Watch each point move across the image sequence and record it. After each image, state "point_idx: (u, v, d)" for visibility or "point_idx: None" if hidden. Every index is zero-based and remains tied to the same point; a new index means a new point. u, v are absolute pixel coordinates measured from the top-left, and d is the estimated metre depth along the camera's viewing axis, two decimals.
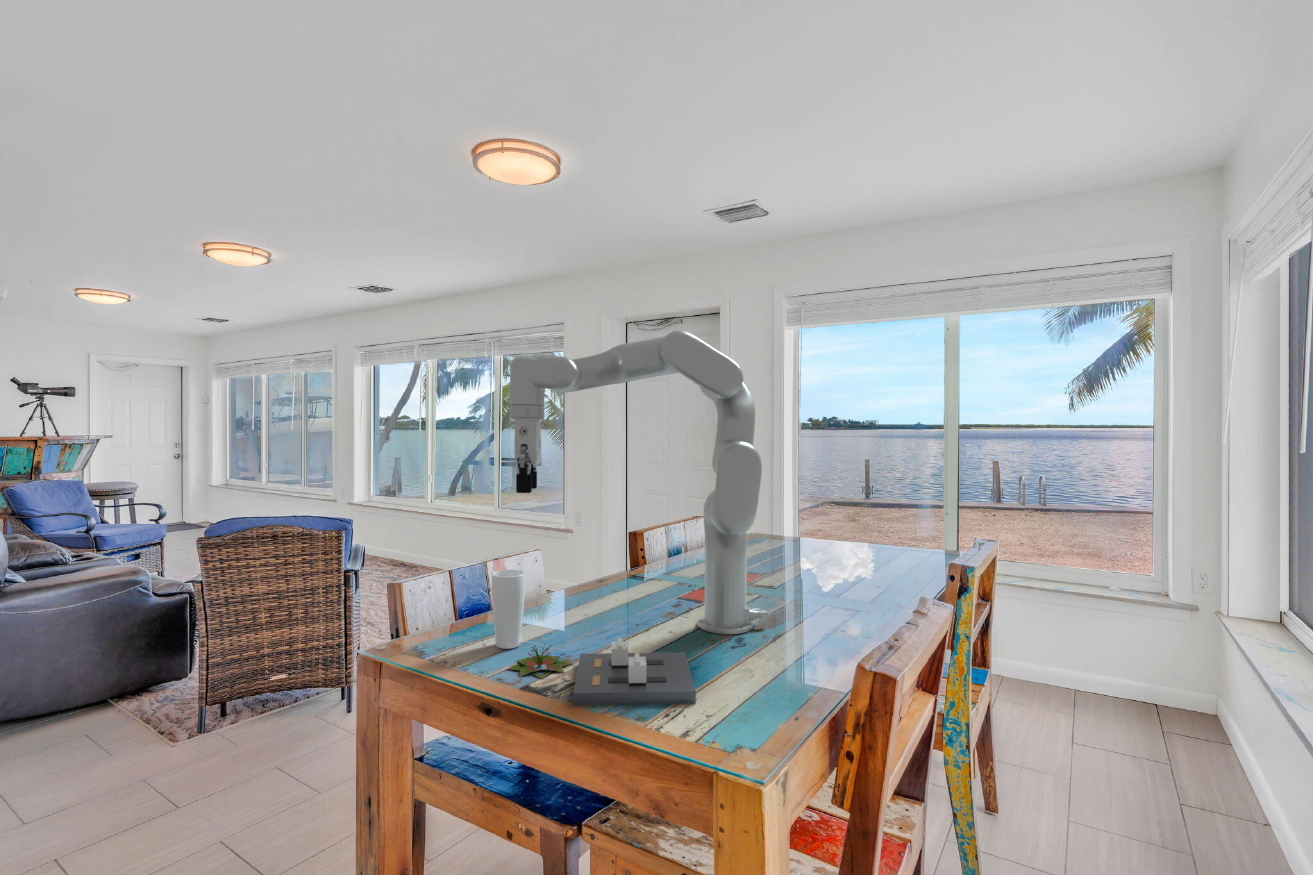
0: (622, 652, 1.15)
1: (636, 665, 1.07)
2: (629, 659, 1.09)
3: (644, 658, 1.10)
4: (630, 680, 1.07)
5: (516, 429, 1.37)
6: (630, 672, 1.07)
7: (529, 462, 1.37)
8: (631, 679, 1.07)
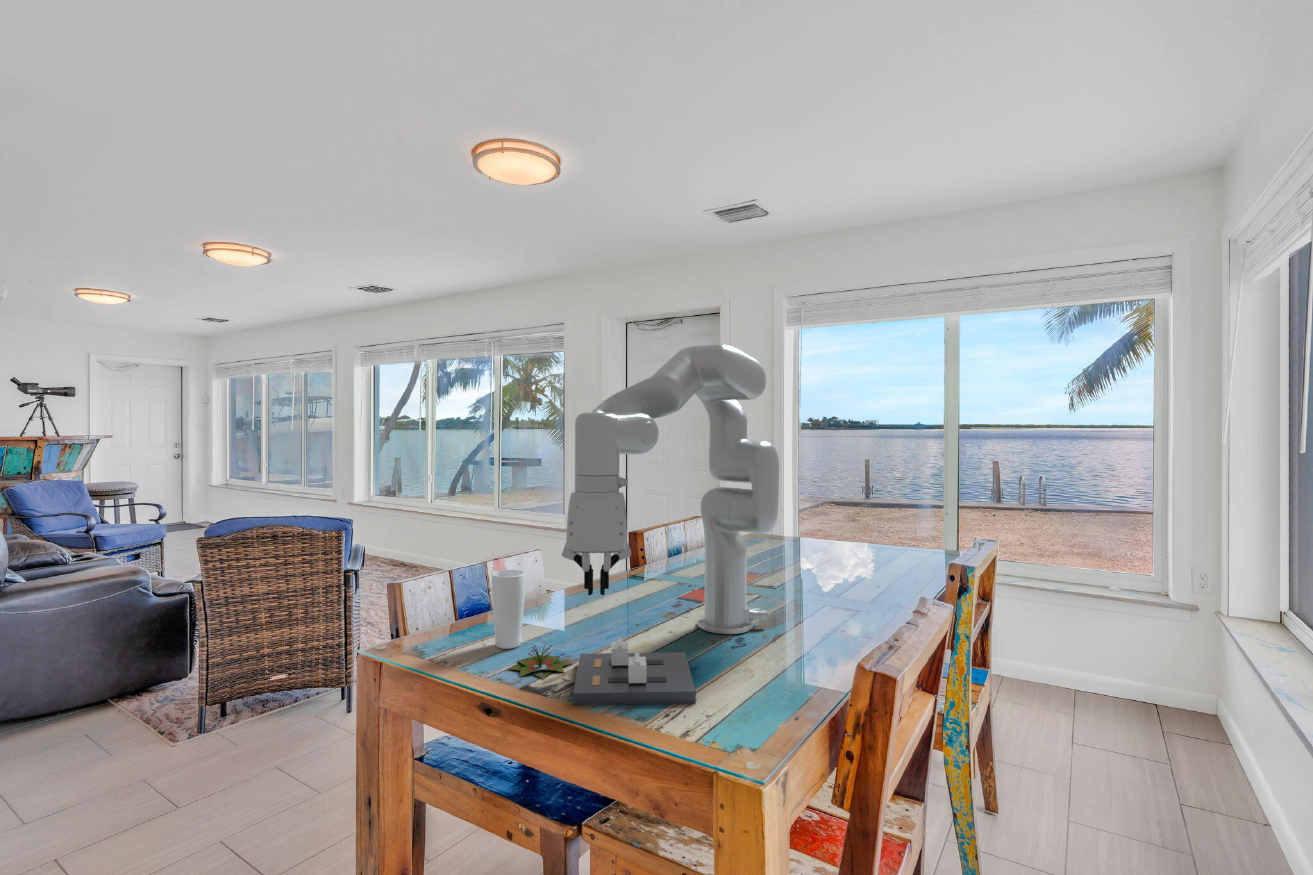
0: (622, 652, 1.15)
1: (636, 665, 1.07)
2: (629, 659, 1.09)
3: (644, 658, 1.10)
4: (630, 680, 1.07)
5: (622, 507, 1.06)
6: (630, 672, 1.07)
7: None
8: (631, 679, 1.07)
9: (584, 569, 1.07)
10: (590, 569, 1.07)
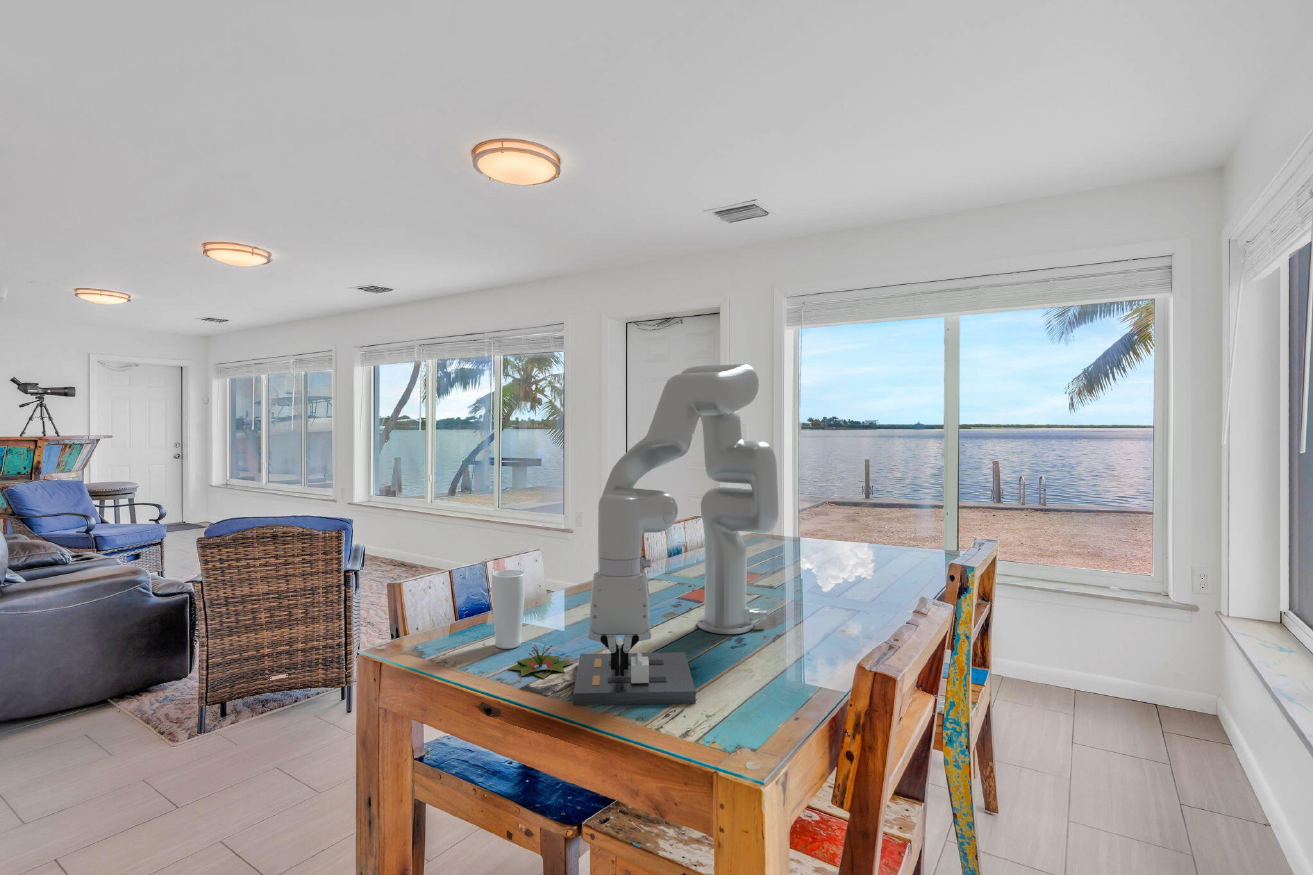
0: None
1: (638, 665, 1.07)
2: (631, 659, 1.09)
3: (646, 658, 1.10)
4: (633, 680, 1.07)
5: (646, 589, 1.07)
6: (633, 672, 1.07)
7: None
8: (634, 679, 1.07)
9: (611, 650, 1.07)
10: (617, 650, 1.08)
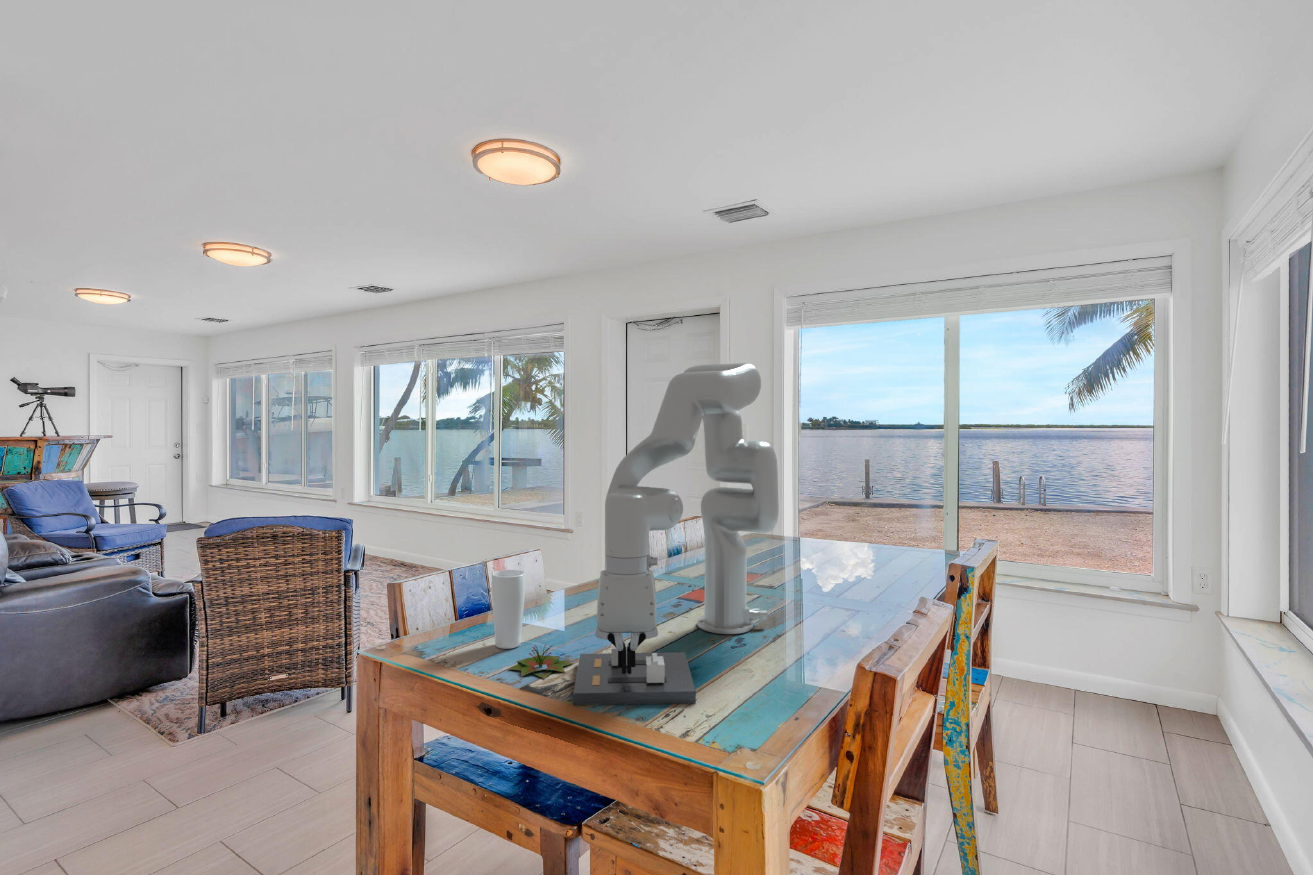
0: None
1: (654, 665, 1.07)
2: (647, 659, 1.10)
3: (662, 658, 1.10)
4: (648, 680, 1.07)
5: (653, 587, 1.07)
6: (648, 672, 1.07)
7: None
8: (649, 679, 1.07)
9: (618, 648, 1.07)
10: (624, 648, 1.08)
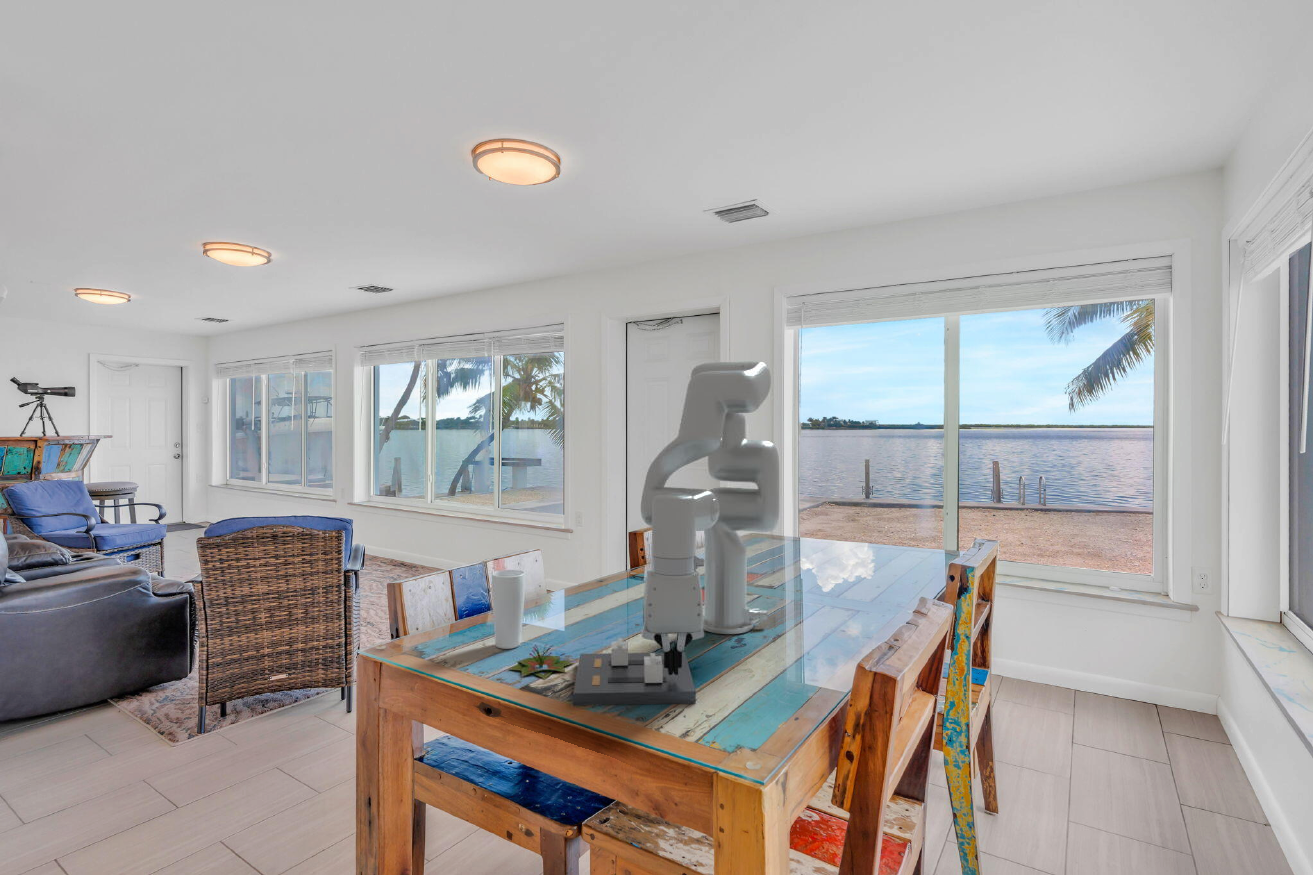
0: (622, 652, 1.15)
1: (652, 665, 1.07)
2: (645, 659, 1.10)
3: (660, 658, 1.10)
4: (646, 680, 1.07)
5: (700, 588, 1.07)
6: (646, 672, 1.07)
7: None
8: (647, 679, 1.07)
9: (665, 649, 1.08)
10: (670, 649, 1.08)
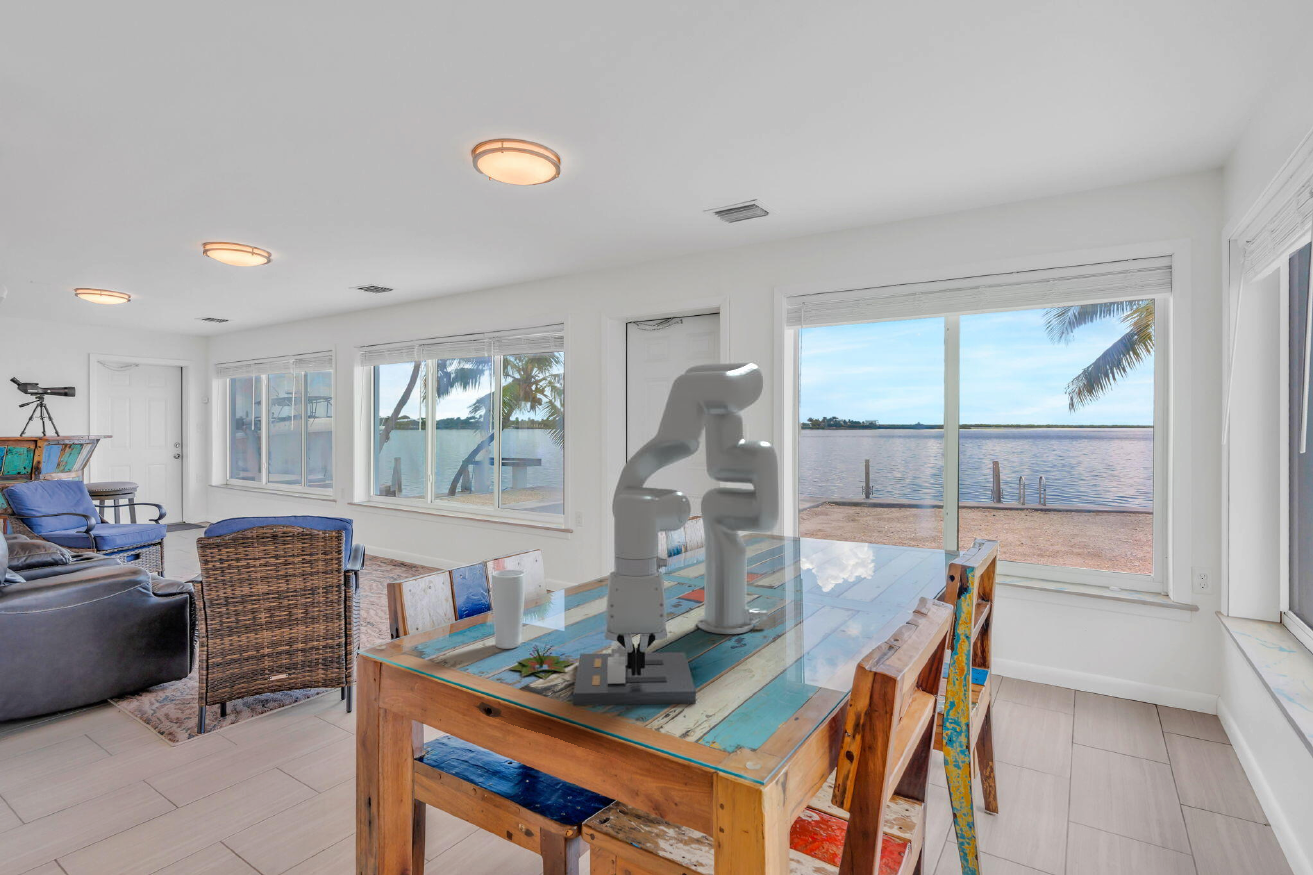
0: (622, 652, 1.15)
1: (615, 665, 1.07)
2: (608, 659, 1.09)
3: (624, 658, 1.10)
4: (609, 680, 1.06)
5: (662, 588, 1.07)
6: (609, 672, 1.06)
7: None
8: (610, 679, 1.06)
9: (628, 650, 1.07)
10: (633, 649, 1.08)
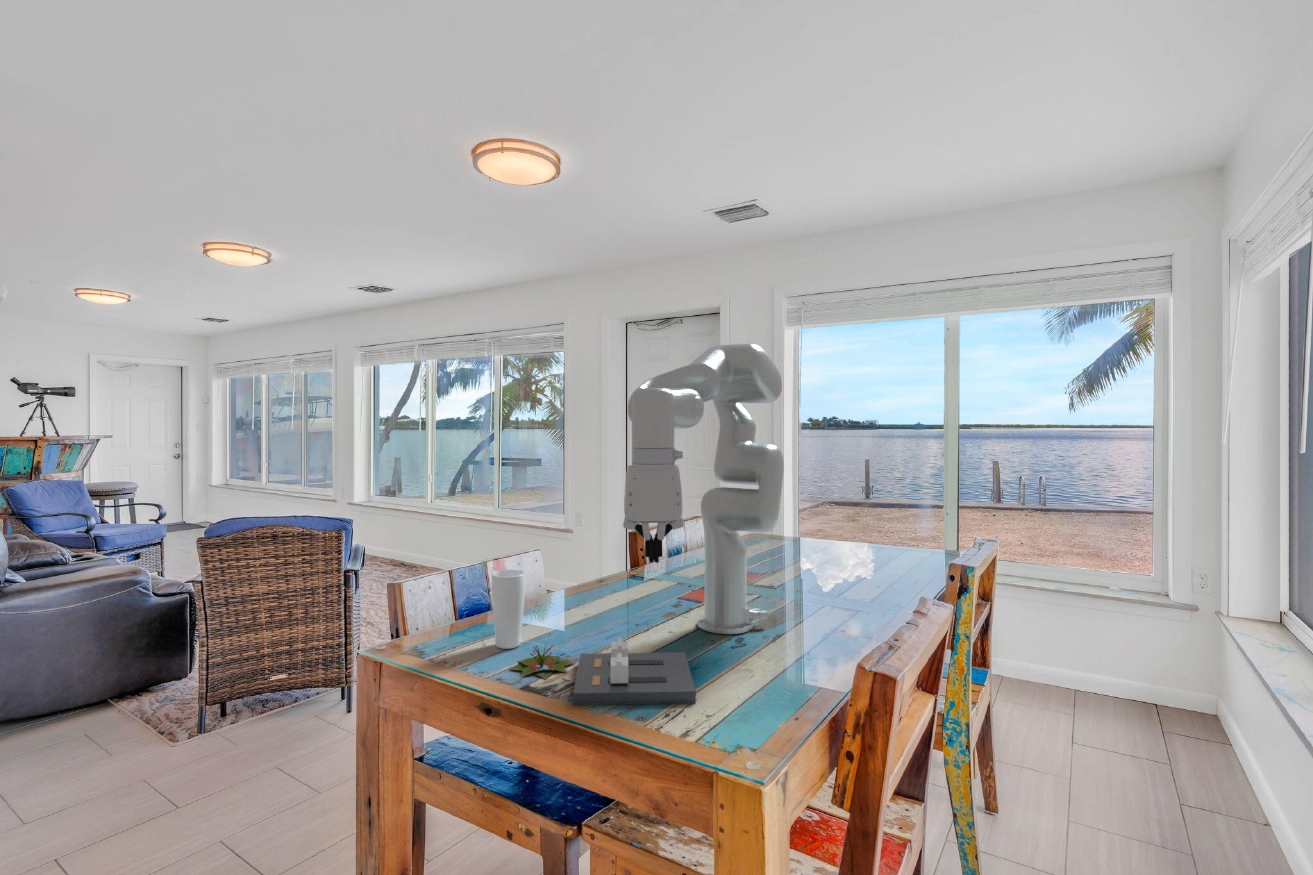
0: (622, 652, 1.15)
1: (618, 665, 1.07)
2: (611, 659, 1.09)
3: (626, 658, 1.10)
4: (612, 680, 1.07)
5: (679, 478, 1.11)
6: (612, 672, 1.07)
7: None
8: (613, 679, 1.07)
9: (646, 538, 1.11)
10: (651, 538, 1.12)
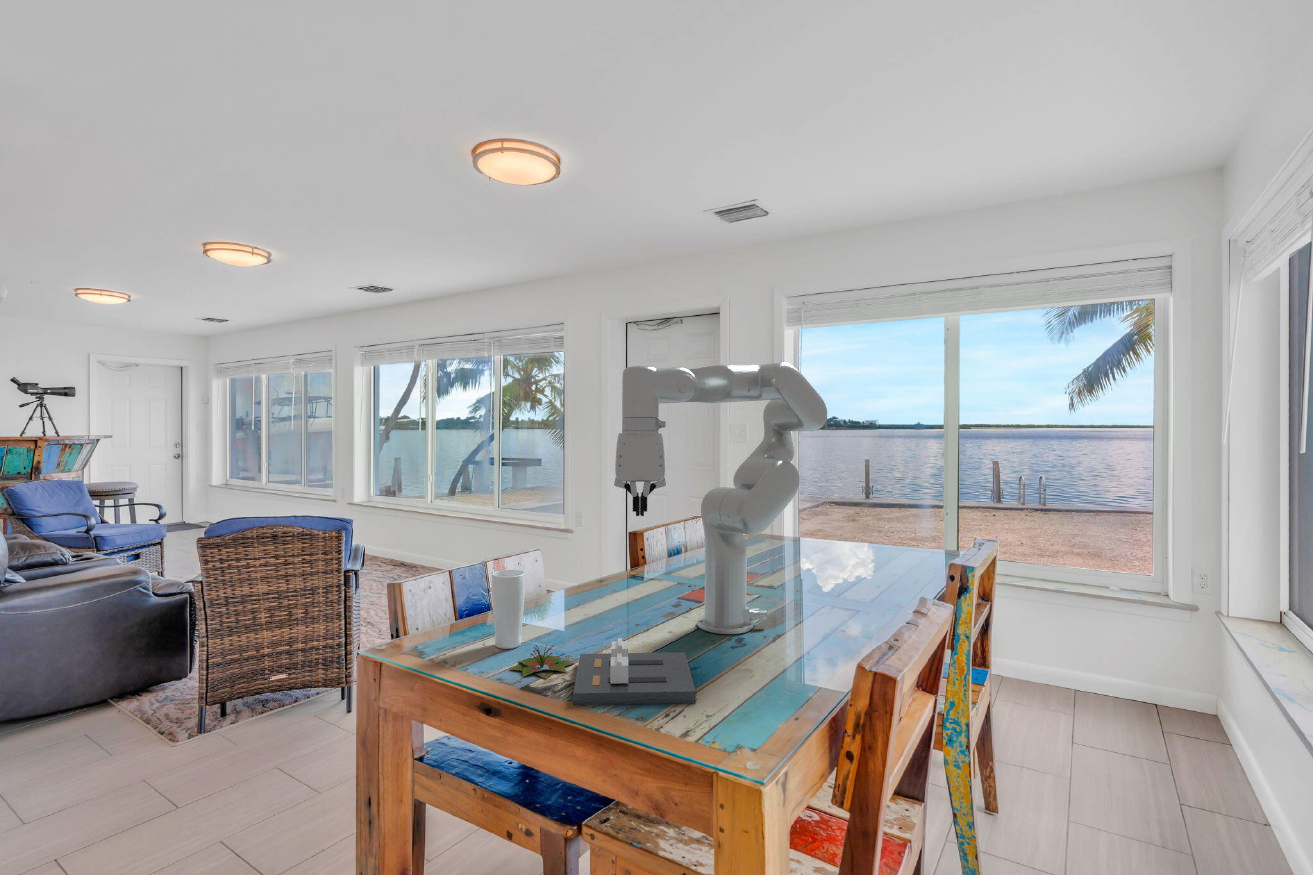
0: (622, 652, 1.15)
1: (618, 665, 1.07)
2: (611, 659, 1.09)
3: (626, 658, 1.10)
4: (612, 680, 1.07)
5: (662, 443, 1.30)
6: (612, 672, 1.07)
7: None
8: (613, 679, 1.07)
9: (633, 495, 1.30)
10: (637, 495, 1.31)
